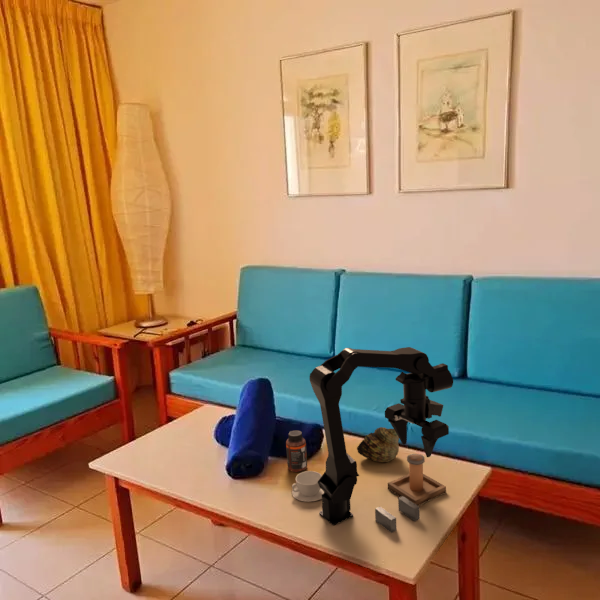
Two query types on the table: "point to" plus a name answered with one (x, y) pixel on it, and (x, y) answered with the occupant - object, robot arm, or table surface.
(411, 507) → the hitch bracket
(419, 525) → the table surface
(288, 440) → the supplement bottle
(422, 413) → the robot arm
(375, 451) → the seashell
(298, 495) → the teacup
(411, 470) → the pin
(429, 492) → the tray
